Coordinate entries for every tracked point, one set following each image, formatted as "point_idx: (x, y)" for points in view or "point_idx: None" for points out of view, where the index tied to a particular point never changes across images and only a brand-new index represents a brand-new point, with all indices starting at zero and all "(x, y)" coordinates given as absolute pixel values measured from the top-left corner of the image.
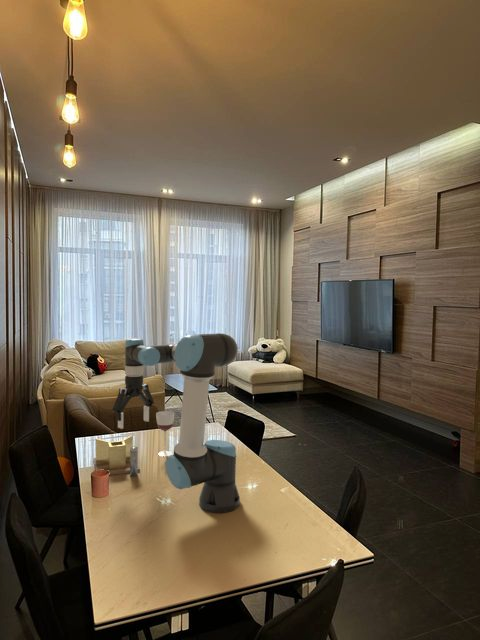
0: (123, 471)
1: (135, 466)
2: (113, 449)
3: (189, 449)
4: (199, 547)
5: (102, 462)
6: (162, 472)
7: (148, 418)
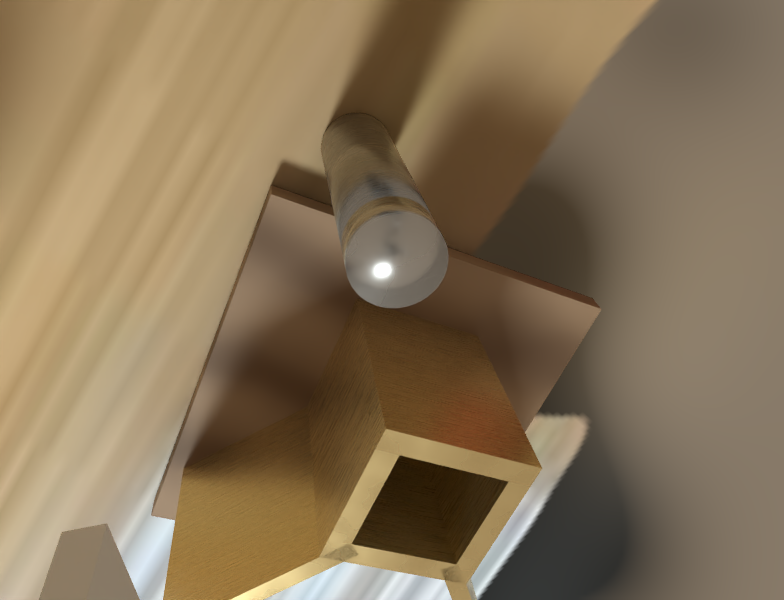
0: None
1: (372, 140)
2: (496, 437)
3: None
4: None
5: None
6: (84, 10)
7: (57, 595)
